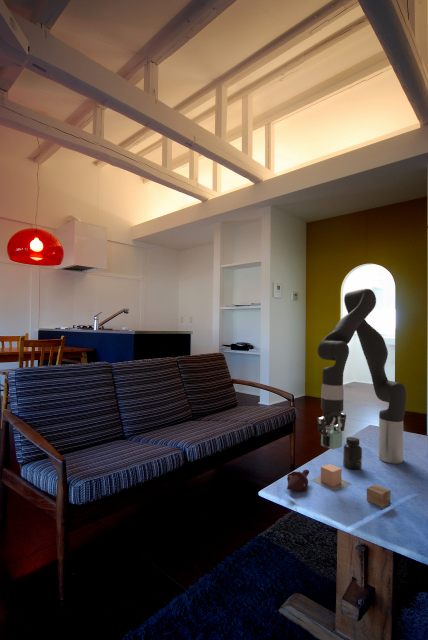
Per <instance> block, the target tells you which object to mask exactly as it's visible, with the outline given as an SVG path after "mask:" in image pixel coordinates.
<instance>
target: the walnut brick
mask: <svg viewBox="0 0 428 640" xmlns="http://www.w3.org/2000/svg"><path fill="white" fill-rule="evenodd" d="M391 493H392V492H391V489H389V488H386V487H384V486H382V485H379V484H376V483H375V484H373V485H370V486H368V487H367V488H366V502H370V503H372V504H374V505H376V506H378V507H381V508H380V511H383V510H386V509H387V508H389V507H391Z"/></svg>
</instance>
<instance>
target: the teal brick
mask: <svg viewBox="0 0 428 640" xmlns="http://www.w3.org/2000/svg"><path fill="white" fill-rule="evenodd" d="M327 430H328V429H326V432H327ZM320 435H321V436H320V437H321V438H320V446H322V447H324V448H328V449H329V450H330V449H331V450H336V449H339V448H342V446H343V432H342V431H341V432H338V431H335V430H333V429H332V430H331V432H330V446H329V447H326V446H324V445H323V435H322V434H320Z"/></svg>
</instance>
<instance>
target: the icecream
mask: <svg viewBox="0 0 428 640" xmlns="http://www.w3.org/2000/svg"><path fill="white" fill-rule="evenodd" d="M309 473H310V470H309V469H304V470H302V472H301V471H292V472H290V473H288V474H287V478H286V479H287V486H286V489H287V490H291V491H295V492H302V493H304V492H306V491H307V489H308V486H309V479H308V478H307V477H308V475H309Z"/></svg>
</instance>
